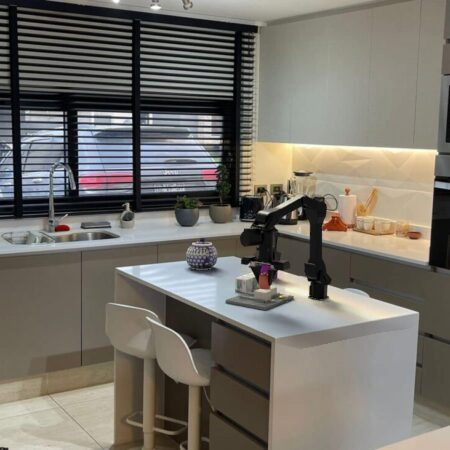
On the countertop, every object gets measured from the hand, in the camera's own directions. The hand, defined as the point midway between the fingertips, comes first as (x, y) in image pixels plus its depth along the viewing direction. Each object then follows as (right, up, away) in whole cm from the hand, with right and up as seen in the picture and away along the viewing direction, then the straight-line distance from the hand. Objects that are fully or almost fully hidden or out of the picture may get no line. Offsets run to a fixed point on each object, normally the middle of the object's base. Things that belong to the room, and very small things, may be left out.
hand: (264, 284), depth 266 cm
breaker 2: (+2, -6, +15) cm, 16 cm away
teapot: (-26, +2, +71) cm, 76 cm away
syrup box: (-1, -1, +37) cm, 37 cm away
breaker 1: (0, -6, +9) cm, 11 cm away
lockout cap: (0, -1, 0) cm, 1 cm away
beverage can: (+5, -2, +52) cm, 52 cm away
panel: (-1, -7, +11) cm, 13 cm away
